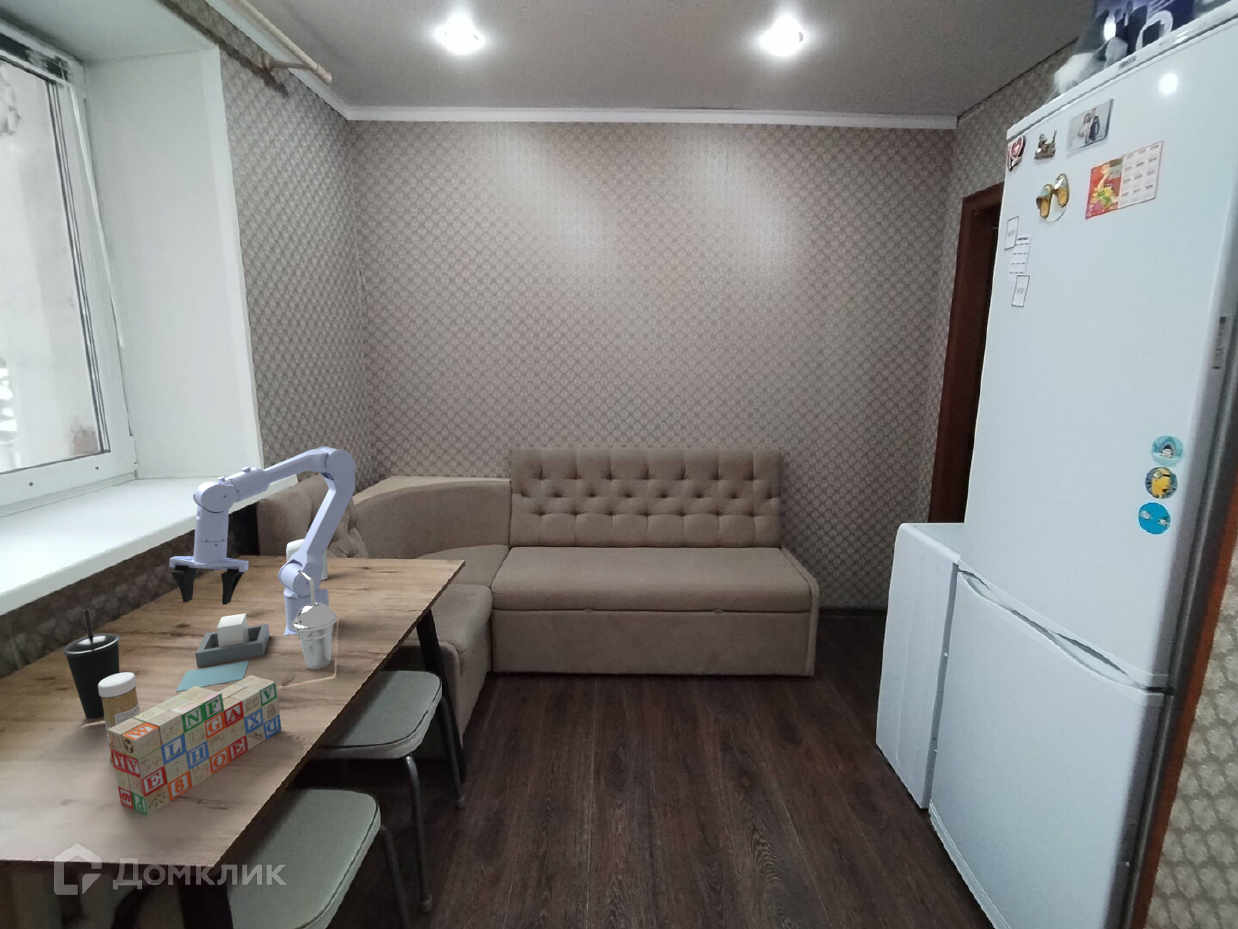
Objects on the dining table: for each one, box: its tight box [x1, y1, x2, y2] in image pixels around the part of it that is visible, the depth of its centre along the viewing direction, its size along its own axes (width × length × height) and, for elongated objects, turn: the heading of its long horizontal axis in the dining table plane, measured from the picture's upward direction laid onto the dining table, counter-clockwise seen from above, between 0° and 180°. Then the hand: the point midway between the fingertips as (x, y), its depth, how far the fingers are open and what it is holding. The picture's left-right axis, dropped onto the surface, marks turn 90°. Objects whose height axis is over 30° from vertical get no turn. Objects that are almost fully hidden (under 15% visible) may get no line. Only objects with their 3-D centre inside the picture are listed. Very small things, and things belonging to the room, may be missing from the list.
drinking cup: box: [62, 608, 121, 719], centre depth 106 cm, size 8×8×20 cm
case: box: [195, 623, 270, 668], centre depth 129 cm, size 12×10×4 cm
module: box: [216, 612, 249, 647], centre depth 129 cm, size 4×6×7 cm
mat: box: [175, 660, 250, 693], centre depth 119 cm, size 11×8×1 cm
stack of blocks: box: [108, 674, 282, 816], centre depth 93 cm, size 21×6×12 cm, turn 158°
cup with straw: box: [292, 570, 338, 670], centre depth 123 cm, size 8×9×20 cm
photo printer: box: [285, 538, 329, 581], centre depth 171 cm, size 10×4×12 cm, turn 110°
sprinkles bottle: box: [98, 671, 141, 762], centre depth 95 cm, size 5×5×14 cm
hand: (207, 602), depth 126 cm, fingers open, 7 cm apart
